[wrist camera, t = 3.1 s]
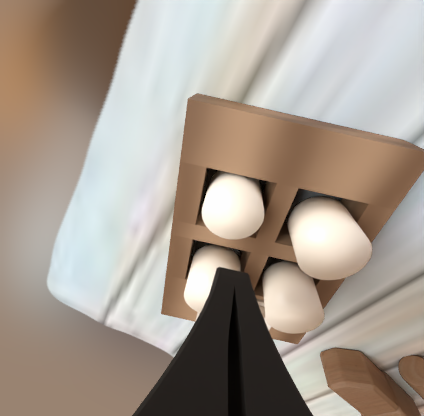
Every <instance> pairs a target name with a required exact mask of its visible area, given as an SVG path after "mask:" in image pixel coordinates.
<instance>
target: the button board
mask: <svg viewBox="0 0 424 416" xmlns="http://www.w3.org/2000/svg"><path fill="white" fill-rule="evenodd" d="M209 168H211V169H216V170H220V171H225V172H229V173H234V174H238V175H242V176H247V177H251V178H256V179H260V180H265V181H267V182H266V185H265V188H264V191H263V194H262V200H263V207H264V220H263V223H262V225H261V226H260V228H259V229H258V230H257V231H256V232H255V233H254V234H252V235H250V236H248V237H246V238H242V239H234V240H233V239H225V238H222V237H219V236H217V235H215V234H214V233H212V232H211V231H210V230H209V229H208V228H207V227H206V225H205V223H204V221H203V218H202V207H203V205H202V199H203V194H204V189H205V184H206V179H207V174H208V169H209ZM423 171H424V149H422V148H420V147H418V146H415V145H413V144H411V143H409V142H407V141H404V140H401V139H397V138H392V137H388V136H383V135H379V134H374V133H370V132H366V131H361V130H357V129H352V128H348V127H344V126H339V125H335V124H330V123H326V122H321V121H317V120H313V119H308V118H304V117H299V116H295V115H290V114H286V113H282V112H277V111H273V110H268V109H264V108H259V107H255V106H251V105H246V104H242V103H237V102H233V101H228V100H224V99H220V98H215V97H211V96H206V95H202V94H195V95H193V96H192V97H190V98H188V102H187V111H186V119H185V127H184V135H183V143H182V151H181V159H180V167H179V175H178V183H177V191H176V199H175V207H174V215H173V223H172V231H171V239H170V247H169V255H168V263H167V271H166V279H165V287H164V295H163V303H162V311H161V314H164V315H168V316H173V317H177V318H182V319H186V320H191V321H195V322H196V320H197V318H198V316H199V314H200V313H199V312H197V311H195V310H193V309H192V308H191V307H190V306H189V305H188V304H187V303H186V301H185V299H184V291H185V287H186V283H187V279H188V275H189V272H190V268H191V264H192V260H193V256H191V255H192V250H193V245H194V240H198V241H203V242H207V243H211V244H216V245H220V246H225V247H229V248H234V249H238V250H243V251H242V254H241V256H240V263H241V269H240V272H245V273H248V274H249V276H250V280H251V283H252V287H253V290H254V293H255V296H256V299H257V302H258V305H259V307H260V310H261V313H262V315H263V318H264V320H265V323H266V325H267V328H268V330H269V332H270V335H271V337H272V339H276V340H281V341H285V342H290V343H294V344H298V343H299V342H300V340H301V339H302V338H303V336H304V335H305V333H306V332H305V333H296V334H293V333H285V332H281V331H278V330H276V329H274V328H273V327H271V326H270V325H269V324H268V322H267V321H266V317H265V306H264V295H263V284H262V276H263V273H264V272H262V271H263V268H264V266H265V264H266V262H267V259H268V257H269V256H270V257H274V258H279V259H283V260H288V261H292V262H296V263H298V262H297V259H296V255H295V252H294V248H293V245H292V241H291V237H290V234H289V230H288V226H287V224H286V223H284V220H285V218H286V216H287V213H288V211H289V209H290V207H291V204H292V202H293V200H294V197H295V195H296V193H297V191H298V188H300V189H305V190H309V191H314V192H318V193H323V194H327V195H331V196H336V197H340V198H342V200H341V203H342V204H343V205H344V206H345V207H346V209H347V210H348V212H349V213H350V214H351V216H352V217H353V218H354V220H355V221H356V223H357V224H358V225H359V227H360V228H361V229H362V231H363V232H364V233H365V235H366V236H367V238H368V239H369V241H370V242H372V241H373V240H374V238H375V237H376V236H377V234H378V233H379V231H380V230H381V229H382V227H383V226H384V224H385V223H386V222H387V220H388V219H389V218H390V216H391V215H392V213H393V212H394V211H395V209H396V208H397V207H398V205H399V204H400V202H401V201H402V200H403V198H404V197H405V196H406V194H407V193H408V191H409V190H410V189H411V187H412V186H413V185H414V183H415V182H416V180H417V179H418V178H419V176H420V175H421V173H422V172H423ZM312 278H313V277H312ZM344 280H345V278H342V279H337V280H321V279H316V278H313V281H314V284H315V287H316V290H317V293H318V296H319V299H320V302H321V305H322V308H323V309H324V307H325V306H326V304H327V303H328V302H329V300H330V299H331V298H332V296H333V295H334V293H335V292H336V291H337V289H338V288H339V287H340V285H341V284H342V282H343V281H344Z"/></svg>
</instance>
